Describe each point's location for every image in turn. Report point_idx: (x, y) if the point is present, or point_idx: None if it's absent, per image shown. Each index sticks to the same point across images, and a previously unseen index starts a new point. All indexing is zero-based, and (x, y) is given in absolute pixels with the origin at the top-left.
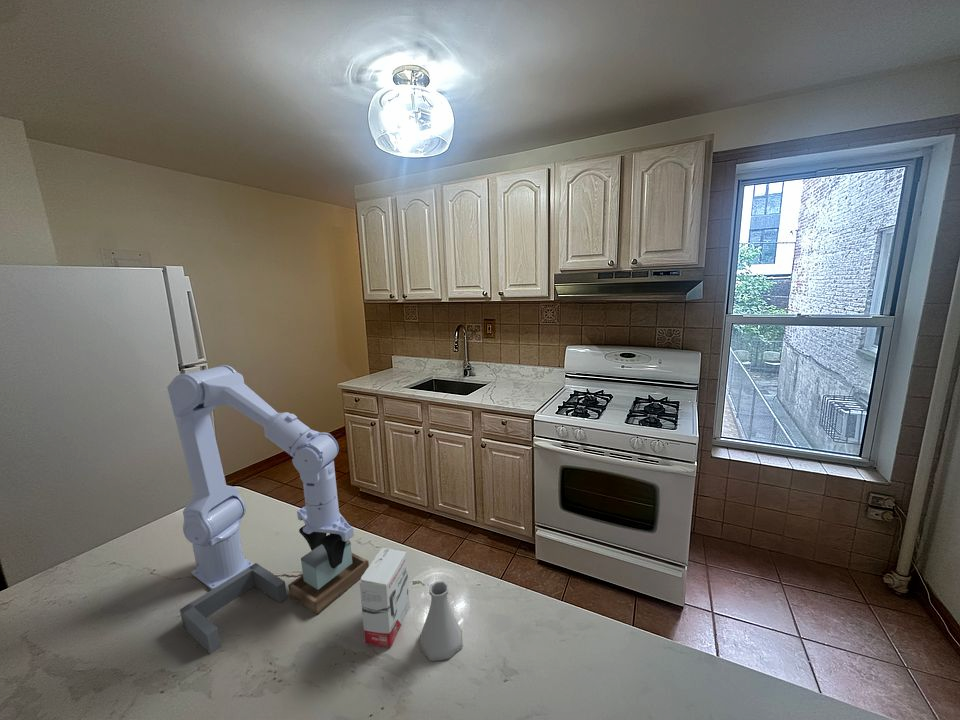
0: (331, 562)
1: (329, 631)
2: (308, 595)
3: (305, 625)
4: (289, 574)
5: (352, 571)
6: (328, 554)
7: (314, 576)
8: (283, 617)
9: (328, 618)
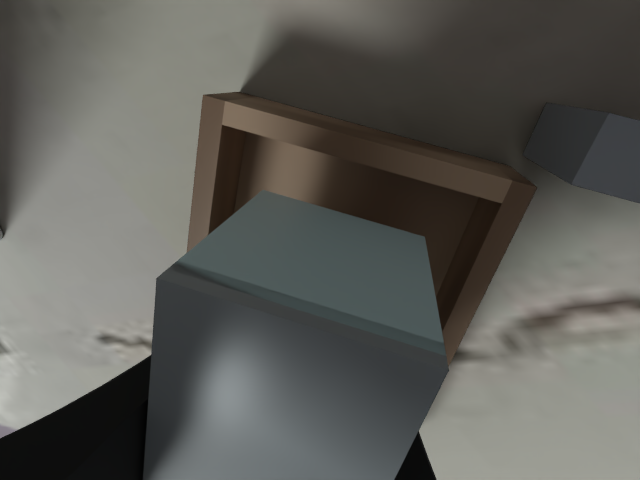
0: (141, 363)
1: (102, 17)
2: (303, 138)
3: (252, 6)
4: (633, 312)
5: None
6: (80, 432)
7: (250, 230)
8: (434, 10)
9: (170, 90)
